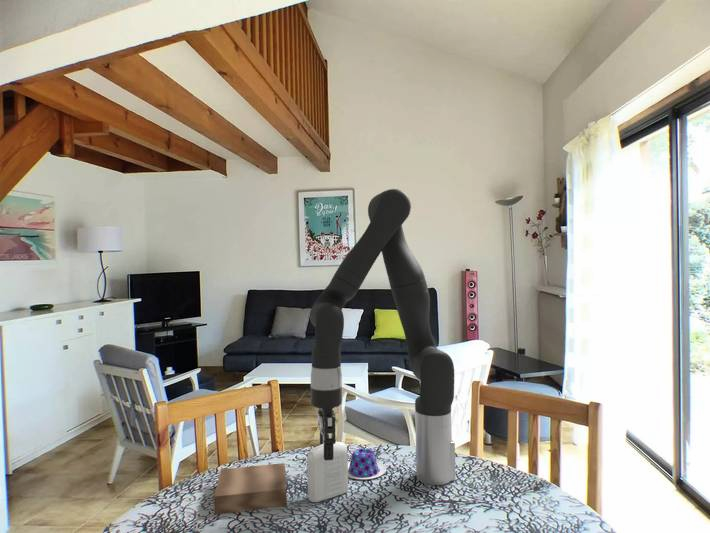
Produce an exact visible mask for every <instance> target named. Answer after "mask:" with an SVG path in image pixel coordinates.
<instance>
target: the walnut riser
mask: <svg viewBox="0 0 710 533" xmlns="http://www.w3.org/2000/svg"><path fill="white" fill-rule="evenodd" d="M285 465H286V463H285V462H282V463H272V464H270V463H269V464H262V465H261V464H260V465H252V466H250V465H249V466H241V467H230V468H221V469H220V471H219V476H218V480H217V484H216V488H215V491H214V496H213V507H214V508H213V511H214V514H215V515H222V514H223V513H224V514H228V513H229V514H232V513H241V512H249V511H258V510H266V509H274V508H284V507H287V506H288V505H287V504H288V503H287V501H288V500H287V498H288V496H287V477H286V475H287V474H286V466H285Z"/></svg>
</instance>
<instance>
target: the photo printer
mask: <svg viewBox="0 0 710 533" xmlns="http://www.w3.org/2000/svg"><path fill="white" fill-rule="evenodd" d="M348 454H349V452H348V447H347V445H346V443H344V442H341V441H336V442H335V444H333V460H324V444H322V445H320V444H319V445H317V446H315V447H313V448H312V449H311V450H309V451H308V453H307V457H306V458H307V461H306V462H307V498H308V499H307V500H308V501H310V502H311V503H318V502H322V501H325V500H327V499H332V498H333V497H338V496H341V495H343V494H345V493H348V492H349V477H348V462H349V460H348V458H349V457H348V456H349V455H348Z"/></svg>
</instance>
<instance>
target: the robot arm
mask: <svg viewBox="0 0 710 533" xmlns="http://www.w3.org/2000/svg"><path fill="white" fill-rule="evenodd" d="M411 209H412V203H411V200H410V198H409V196H408V195H407V193H406V192H405V191H403V190H401V189H398V188H391V189H387V190H384V191H382V192H380V193H378V194H376V195H375V196H373V198H371V199H370V201H369V203H368V207H367V215H368V218H369V222H370V223H369V224H368V225H367V227H366V229H365V230H364V232H363V234H362V235H361V237H360V238H359V239H358V241H357V242H356V243H355V244H354V246H353V247H352V248H351V249H350V250H349V252H348V253H347V254H346V256H345V257H344V259H343V260H342V261H341V263H340V265H339V266H338V268H336V269H337V270H336V271H335V273H334V274H333V276H332V277H331V279H330V282H329V283H328V285H327V286H326V287H325V288H324V290H323V291H322V292H321V293H320V295H319V296H318V297H317V299H316V300H315V301H314V303H313V304H312V307H311V309H310V311H309V320H310V321H309V322H310V323H311V324H312V326H313V327H314V328H315V329H314V330H315V332H314V333H315V334H314V336H315V337H314V343H313V344H312V347H311V372H310V405H311V406H312V407H314V408H316V409H317V413H316V414H317V415H316V416H317V425H318V430H319V445H322V444H324V460H333V444H335V442H337V439H336V421H337V420H336V413H335V411H334V408H337V407H340V406H341V405H342V403H343V382H342V381H343V377H342V376H343V374H342V366H341V364H342V351H341V348H342V346H341V345H342V342H343V341H342V340H343V335H344V326H345V316H344V312H343V308H344V307H345V305H346V304H348V302H349V301H351V300H352V299H353V298H354V297H355V296H356V295H357V293H358V292H359V290H360V287H362V284H363V283H364V281H365V280H366V278H367V276H368V274H369V272H370V270H371V269H372V268H373V265H374V263H375V262H376V261H377V259H378V257H379V256H380V254H381V255H382V259H383V263H384V267H385V271H386V274H387V279H388V282H389V287H390V290H391V294H392V298H393V301H394V304H395V307H396V310H397V311H396V312H397V315H398V317H399V320H400V323H401V326H402V330H403V334H404V337H405V343H406V347H407V355H408V360H409V361H408V362H409V365H410V370H411V371H412V374H413V375H414V376H415V377H416V378H417V379H418V380H420V382H419V383H420V384H419V396H417V397H416V398H415V400H414V401H415V402H414V420H415V422H414V424H415V425H414V426H415V463H416V464H415V469H416V478H417V480H418V481H419V482H421V483H424V484H426V485H433V486H441V485H446V484H449V483H450V482H452V481H456V480H457V479H456V443H455V441H454V440H453V437H452V435H453V434H452V433H453V432H452V405H453V402H454V397H455V365H454V361H453V358H451V356H450V355H449V354H448V353H447V352H445V351H443V350H441V349H438V347H437V345H436V343H435V340H434V337H433V334H432V330H431V326H430V324H431V323H430V310H431V297H430V292H429V287H428V284H427V281H426V277H425V276H426V275H425V274H424V271H423V268H422V267H421V265H420V263H419V262H418V260H417V259H416V257H415V255H414V254H413V251H411V249H410V247H409V245H408V243H407V241H406V240H407V239H406V236H405V233H404V229H403V224H404V222H406V221H407V219H408V217H409V215H410V214H411Z"/></svg>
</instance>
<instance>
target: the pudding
mask: <svg viewBox="0 0 710 533" xmlns="http://www.w3.org/2000/svg"><path fill="white" fill-rule="evenodd" d="M379 468H380V472H379ZM386 470H387V468H386V465H385V464H383V463H382V462H380V461H377V458H376V455H375V451H373V450H371V449H370V448H358V449H355V450H354V451H353V452H352V454H351V458H350V461H348V478H352V479H356V480H371V479H375V478H379V477H381V476H383V475H384V474H385V473H386Z"/></svg>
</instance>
